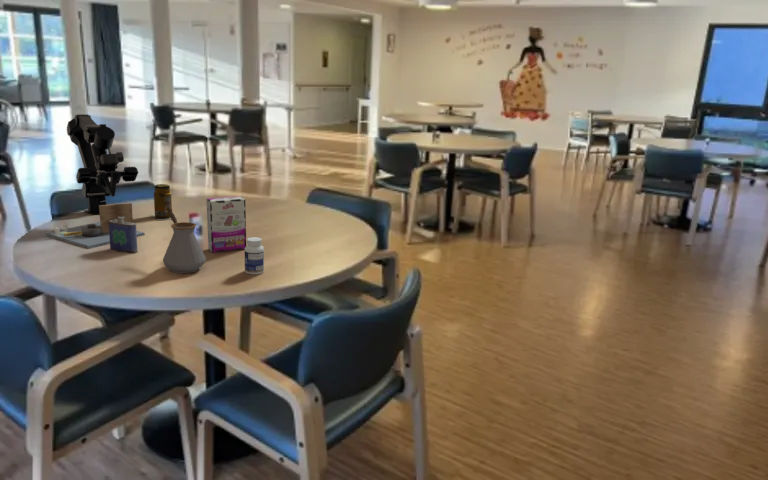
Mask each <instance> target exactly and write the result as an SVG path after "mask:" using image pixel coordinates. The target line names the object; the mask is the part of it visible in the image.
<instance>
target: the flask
mask: <svg viewBox="0 0 768 480" xmlns="http://www.w3.org/2000/svg"><path fill="white" fill-rule="evenodd" d="M124 218H125V217H118V219H119V220H116V219H115V220H110V221H109V234H110V244H109V249H110V251H114V252H122V253H126V254H127V253H129V254H136V253H138V252H139V251H138V249H139V248H138V241H137V240H138V237H137V235H136V231H137V224H136V223H135V222H133V223H129V222H124Z"/></svg>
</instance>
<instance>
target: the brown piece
mask: <svg viewBox="0 0 768 480" xmlns="http://www.w3.org/2000/svg"><path fill="white" fill-rule="evenodd" d="M132 205H133V204H132V202H126V203H125V202H124V203H110V204H106V205H99V212H100V214H99V222H100V225H101V226H100V225H96V224H91V223H88V225H86V224H85V225H86V226H83V227H81V231H78V232H68V233H64V236H71V235H80V234H82V235H83V236H98V235H101V234H102V233H108V232H109V221H110V220H115V219H116V220H119V219H118V217H125V218H124V222H129V223H134V221H133V219H134V218H133V206H132Z"/></svg>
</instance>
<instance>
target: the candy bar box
mask: <svg viewBox="0 0 768 480" xmlns="http://www.w3.org/2000/svg"><path fill="white" fill-rule="evenodd" d="M246 204H247V203H246V199H245V198H244V197H243V196H223V197H213V198H212V197H211V198H206V225H207V228H206V229H207V244H208V245H207V247H208V250H209V251H210V252H211V253H212V254H213V253H222V252H229V251H238V250H245V247H246V246H247V223H246V222H247V221H246V220H247V215H246V214H247V212H246V211H247V210H246V208H247V207H246Z"/></svg>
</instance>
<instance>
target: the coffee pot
mask: <svg viewBox="0 0 768 480" xmlns="http://www.w3.org/2000/svg"><path fill="white" fill-rule="evenodd" d="M172 207H173V206H172ZM172 207H169V206H167V207H166V208H167V209H168V211H166V212H169V213H170V217H171V219H170V220H172V222H173V223H171V225H170V228H172V232H173V234H172V236H171V239H170V241H169V243H168V247H167V249H166V251H165V253H164V256H163V259H162V262H163V265H164V266H165V267H166V268H167V269H169V270H170V271H171V272H173V273H175V274H190V273H194V272H197V271H199V270H200V268H201V267H202V266H204V265H205V262H206V260H207V257H206V256H205V254H204V252H203V251H204V250H203V249H202V247H201V246H200V242H199V241H198V239H197V237H196V235H195V233H194V229H195V228H196V226H197V224H196V223H194V222H188V221H186V222H184V221H183V222H182V221H181V222H178V219H176V218H177V217H176V216H175V214H174V212H173V208H172ZM166 208H165V209H166ZM171 208H172V210H171ZM165 209H164V210H165ZM175 217H176V218H175Z"/></svg>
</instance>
